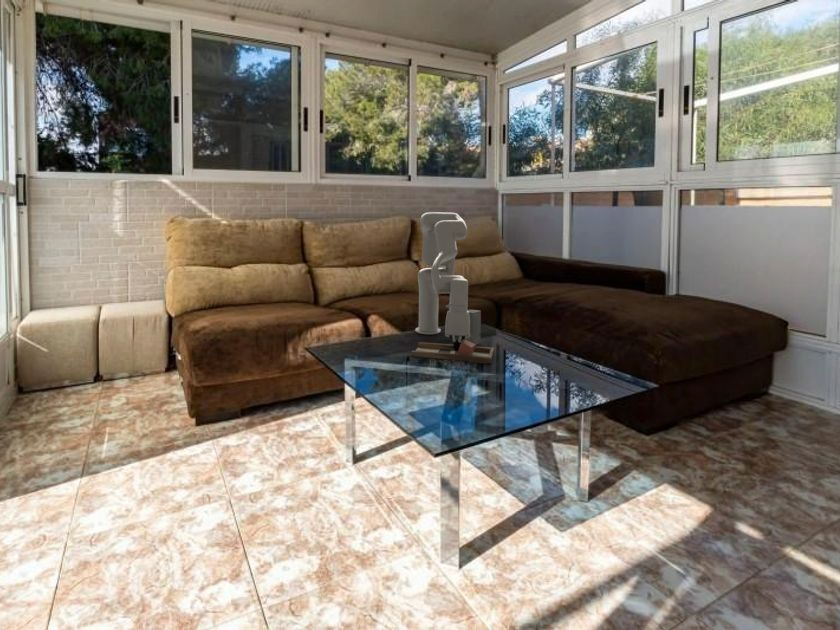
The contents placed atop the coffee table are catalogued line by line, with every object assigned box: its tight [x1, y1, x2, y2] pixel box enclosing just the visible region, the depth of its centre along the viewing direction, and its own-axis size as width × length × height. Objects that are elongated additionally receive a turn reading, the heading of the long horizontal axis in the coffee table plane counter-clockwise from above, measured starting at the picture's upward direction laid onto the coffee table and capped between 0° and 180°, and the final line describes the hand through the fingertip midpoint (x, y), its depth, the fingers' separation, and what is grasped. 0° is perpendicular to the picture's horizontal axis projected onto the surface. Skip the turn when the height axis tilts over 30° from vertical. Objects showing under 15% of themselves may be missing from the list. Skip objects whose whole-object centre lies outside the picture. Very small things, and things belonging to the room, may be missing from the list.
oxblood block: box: [457, 340, 477, 355], centre depth 233 cm, size 5×5×5 cm
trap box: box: [410, 341, 495, 364], centre depth 236 cm, size 15×33×3 cm, turn 78°
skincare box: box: [461, 309, 482, 346], centre depth 252 cm, size 8×7×16 cm
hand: (457, 350), depth 235 cm, fingers closed
